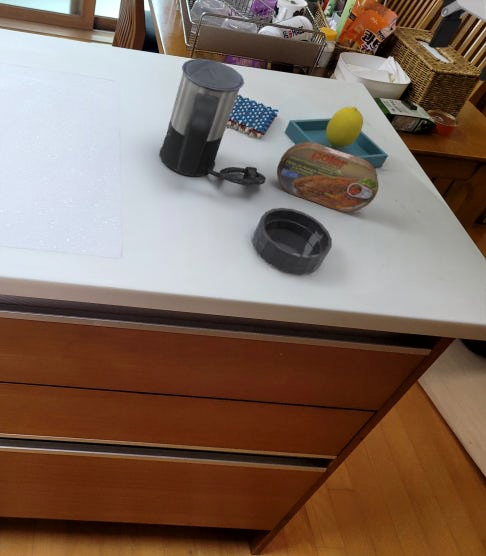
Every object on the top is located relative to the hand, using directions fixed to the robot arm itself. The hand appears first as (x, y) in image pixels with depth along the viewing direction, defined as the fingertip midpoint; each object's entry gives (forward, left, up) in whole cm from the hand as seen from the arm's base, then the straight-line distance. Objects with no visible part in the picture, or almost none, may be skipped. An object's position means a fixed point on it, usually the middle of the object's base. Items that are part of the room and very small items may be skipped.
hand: (461, 62), depth 76 cm
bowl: (+25, +10, -22) cm, 35 cm away
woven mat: (+14, -23, -23) cm, 35 cm away
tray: (+1, -12, -22) cm, 25 cm away
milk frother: (+28, -9, -23) cm, 37 cm away
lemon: (+1, -12, -22) cm, 25 cm away
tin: (+13, 0, -23) cm, 26 cm away
